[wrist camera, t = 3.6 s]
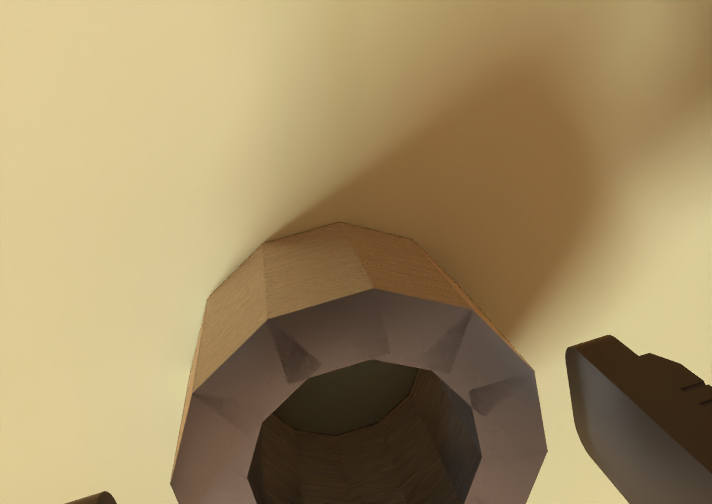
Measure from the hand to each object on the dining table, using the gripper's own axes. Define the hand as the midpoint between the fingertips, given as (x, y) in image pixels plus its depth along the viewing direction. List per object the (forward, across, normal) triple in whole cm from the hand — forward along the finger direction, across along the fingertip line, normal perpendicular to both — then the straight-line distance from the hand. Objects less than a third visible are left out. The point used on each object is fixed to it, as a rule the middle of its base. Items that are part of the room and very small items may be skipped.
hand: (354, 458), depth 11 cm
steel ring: (+4, 0, 0) cm, 4 cm away
